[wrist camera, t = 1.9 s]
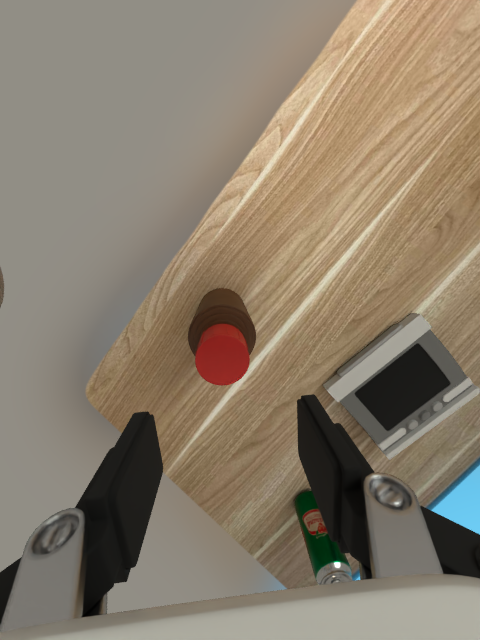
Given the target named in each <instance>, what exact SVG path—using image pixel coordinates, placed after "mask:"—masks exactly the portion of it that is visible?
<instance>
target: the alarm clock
mask: <svg viewBox="0 0 480 640" xmlns="http://www.w3.org/2000/svg"><path fill="white" fill-rule="evenodd" d="M431 328H432V326H431V325H430V324H429V323H428V322H427V321H426V320H425V318H424V317H423V316H422V315H421V314H417V313H411V314H410V315H409V316H407V317H406V318H405V319H404V320H402V321H401V322H400V323H399V324H394V325H393V326H392V327H390V328H389V329H388V330H387V331H385V332H384V333H383V334H382V335H380V336H379V337H378V338H377V339H376V340H374V341H373V342H372V343H371V344H369V345H368V346H367V347H366V348H364V349H363V350H362V351H361V352H360V353H358V354H357V355H356V356H355V357H353V358H352V359H351V360H350V361H348V362H347V363H346V364H345V365H344V366H342V367H341V368H340V369H339V370H338V371H337V374H336V375H335V376H333V377H332V378H331V379H330V380H328V381H327V382H326V383H325V384H324V385H323V386H324V387H325V389H326V390H327V391H328V392H329V393H330V395H331V396H332V397H333V398H334V399H335V400H336V401H337V402H340V403H341V404H342V405H343V406H344V407H345V408H346V409H347V410H348V412H349V413H350V414H351V415H352V416H353V417H354V418H355V419H356V420H357V422H358V423H359V424H360V425H361V426H362V427H363V428H364V429H365V430H366V432H367V433H368V434H369V436H370V437H371V438H372V440H373V441H374V442H375V443H376V445H377V446H378V447H379V448H380V449H381V451H382V452H383V453H384V454H385V455H386V456H387V458H388V459H389V460H390V459H391V458H393V457H394V456H395V455H397V454H398V453H399V452H401V451H402V450H403V449H405V448H406V447H407V446H409V445H410V444H411V443H413V442H414V441H416V440H417V439H418V438H420V437H421V436H422V435H424V434H425V433H426V432H428V431H429V430H430V429H432V428H433V427H435V426H436V425H437V424H439V423H440V422H441V421H443V420H444V419H445V418H447V417H448V416H449V415H451V414H452V413H453V412H455V411H456V410H458V409H459V408H460V407H462V406H463V405H464V404H466V403H467V402H468V401H470V400H471V399H472V398H474V397H475V396H476V395H478V394H479V393H480V389H479V387H477V386H475V385H474V384H473V383H472V381H471V380H470V378H469V377H467V376H466V375H465V374H464V372H463V371H462V369H461V368H460V366H459V365H458V363H457V362H456V361H455V359H454V358H453V357H452V355H451V354H450V353H449V351H448V350H447V349H446V348H445V347H444V345H443V344H442V343H441V342H440V341H439V339H438V338H437V337H436V336H435V335H434V334H433V332H432V331H431V330H430V329H431Z"/></svg>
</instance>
